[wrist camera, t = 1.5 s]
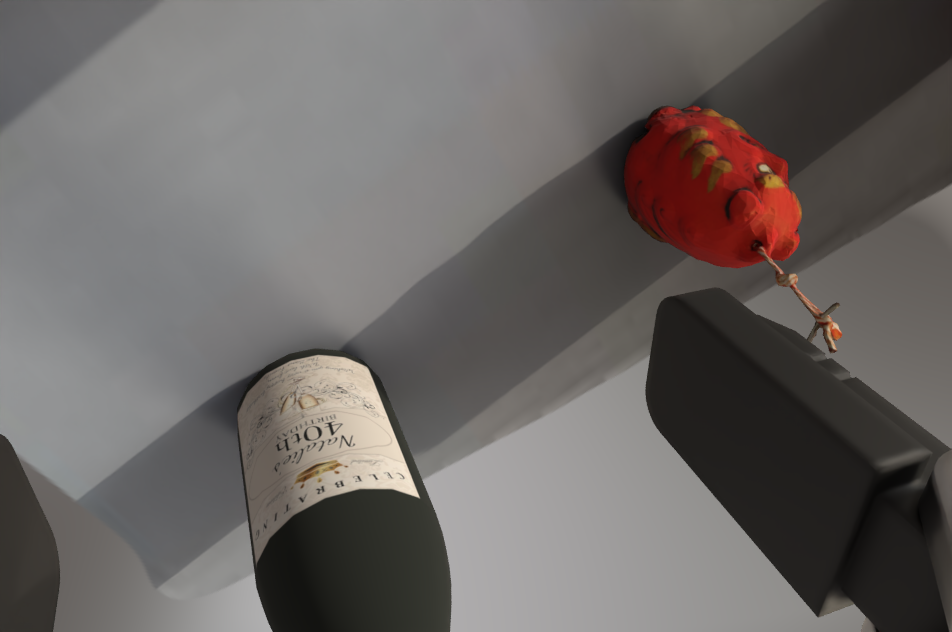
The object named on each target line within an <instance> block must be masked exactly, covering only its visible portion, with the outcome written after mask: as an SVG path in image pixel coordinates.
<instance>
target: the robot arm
mask: <svg viewBox="0 0 952 632" xmlns="http://www.w3.org/2000/svg"><path fill="white" fill-rule="evenodd" d="M646 402H647V406H648V410H649V413H650V416H651V418H652V420H653V422H654V424H655V426H656V427H657V429H658V430H659V431H660V433H661V434H662V435H663V436H664V437H665V438H666V440H667V441H668V442H669V443H670V444H671V446H672V447H673V448H674V449H675V450H676V451H677V453H678V454H679V455H680V456H681V457H682V459H683V460H684V461H685V462H686V463H687V464H688V466H689V467H690V468H691V469H692V470H693V471H694V473H695V474H696V475H697V476H698V477H699V478H700V480H701V481H702V482H703V483H704V484H705V486H706V487H707V488H708V489H709V490H710V491H711V493H713V495H714V496H715V497H716V498H717V500H718V501H719V502H720V503H721V504H722V505H723V507H724V508H725V509H726V510H727V511H728V512H729V514H730V515H731V516H732V517H733V518H734V520H735V521H736V522H737V523H738V524H739V525H740V526H741V528H742V529H743V530H744V531H745V532H746V534H747V535H748V536H749V537H750V538H751V539H752V541H753V542H754V543H755V544H756V545H757V546H758V548H759V549H760V550H761V551H762V552H763V553H764V555H765V556H766V557H767V558H768V559H769V561H770V562H771V563H772V564H773V565H774V566H775V568H776V569H777V570H778V571H779V572H780V573H781V575H782V576H783V577H784V578H785V579H786V580H787V582H788V583H789V584H790V585H791V586H792V588H793V589H794V590H795V591H796V592H797V593H798V595H799V596H800V597H801V598H802V599H803V600H804V602H806V604H807V605H808V606H809V607H810V609H811V610H812V611H813V612H814V613H815V614H816V616H817V617H821V616H824V615H826V614H829V613H832V612H834V611H837V610H840V609H842V608H845V607H847V606H850V605H853V604H855V605H856V606H857V607H858V608H859V609H860V610H861V612H862V613H863V614H864V615H865V616H866V618H865V621H864V623H863V625H862V629H861V632H952V449H950V448H949V447H948V446H946V445H945V444H944V443H942V442H941V441H940V440H938V439H937V438H936V437H934V436H933V435H932V434H930V433H929V432H928V431H926V430H925V429H924V428H922V427H921V426H920V425H918V424H917V423H916V422H915V421H913V420H912V419H910V418H909V417H908V416H907V415H905V414H904V413H903V412H901V411H900V410H899V409H897V408H896V407H895V406H894V405H892V404H891V403H889V402H888V401H887V400H886V399H884V398H883V397H881V396H880V395H879V394H878V393H876V392H875V391H874V390H872V389H871V388H870V387H869V386H867V385H866V384H864V383H863V382H862V381H861V380H859V379H858V378H856V377H855V378H851V377H850V372H849V371H847V370H846V369H845V368H843V367H842V366H841V365H839V364H838V363H837V362H836V361H834V360H833V359H826V357H825V353H824V352H822V351H821V350H820V349H818V348H817V347H816V346H814V345H813V344H812V343H811V342H809V341H808V340H807V339H805V338H804V337H803V336H801V335H800V334H799V333H797V332H796V331H794V330H792V329H789V328H787V327H785V326H783V325H780V324H778V323H775V322H773V321H771V320H769V319H766V318H764V317H762V316H760V315H756V314H755V313H753V312H752V311H751V310H749V309H748V308H747V307H746V306H744V305H743V304H742V303H740V302H739V301H738V300H737V299H735V298H734V297H733V296H732V295H730V294H729V293H728V292H726V291H725V290H723V289H720V288H709V289H705V290H700V291H695V292H690V293H685V294H681V295H676V296H671V297H667V298H665V299H664V300H663V301H662V302H661V303H660V305H659V307H658V310H657V314H656V320H655V327H654V334H653V341H652V347H651V354H650V361H649V368H648V374H647V381H646ZM59 584H60V568H59V557H58V551H57V546H56V542H55V538H54V536H53V532H52V530H51V528H50V525H49V523H48V521H47V519H46V517H45V515H44V513H43V510H42V508H41V506H40V504H39V502H38V500H37V498H36V496H35V493H34V491H33V489H32V487H31V485H30V483H29V481H28V478H27V476H26V475H25V472H24V470H23V468H22V466H21V463H20V461H19V459H18V457H17V455H16V453H15V451H14V449H13V447H12V445H11V443H10V442H9V440H8V439H7V438H6V437H5V436H3V435H1V434H0V632H53V627H54V620H55V613H56V607H57V599H58V592H59Z"/></svg>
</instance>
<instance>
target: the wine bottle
mask: <svg viewBox="0 0 952 632" xmlns="http://www.w3.org/2000/svg"><path fill="white" fill-rule="evenodd" d="M237 416H238V442H239V451H240V459H241V467H242V475H243V483H244V491H245V499H246V507H247V515H248V523H249V531H250V539H251V547H252V555H253V563H254V571H255V579H256V587H257V590H258V594H259V597H260V600H261V603H262V606H263V609H264V612H265V615H266V617H267V620H268V623H269V625H270V627H271V629H272V631H273V632H450V622H451V621H450V619H451V578H450V568H449V562H448V557H447V551H446V546H445V542H444V538H443V534H442V530H441V527H440V524H439V521H438V518H437V516H436V513H435V510H434V508H433V505H432V503H431V500H430V498H429V496H428V493H427V491H426V488H425V486H424V483H423V481H422V479H421V476H420V474H419V471H418V469H417V466H416V464H415V462H414V459H413V457H412V454H411V452H410V450H409V447H408V445H407V442H406V440H405V437H404V435H403V433H402V430H401V428H400V425H399V423H398V420H397V418H396V416H395V413H394V411H393V408H392V406H391V403H390V401H389V399H388V396H387V394H386V391H385V389H384V387H383V385H382V382H381V380H380V379H379V377H378V376H377V375H376V374H375V373H374V372H373V371H372V369H371V368H370V367H369V366H368V365H367V364H366V363H365V362H364V361H363V360H360V359H358V358H356V357H353V356H351V355H349V354H347V353H344V352H342V351H336V350H325V349H311V350H306V351H301V352H296V353H292V354H289V355H287V356H285V357H283V358H281V359H279V360H277V361H275V362H273V363H271V364H269V365H267V366H266V367H265V368H264V369H263V370H262V371H261V372H260V373H259V374H258V375H257V376H256V377H255V378H254V379H253V380H252V381H251V382H250V383H249V384H248V386H247V388H246V390H245V392H244V395H243V397H242V399H241V401H240V403H239V406H238V408H237Z"/></svg>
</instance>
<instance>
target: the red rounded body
mask: <svg viewBox="0 0 952 632" xmlns="http://www.w3.org/2000/svg"><path fill="white" fill-rule="evenodd" d="M645 127H646V129H647V131H646V133H645V134H643V135H641V136H640V137H637V138H636V139H635V140H634V141H633V143H632V145H631V147H630V149H629V152H628V155H627V158H626V162H625V167H624V181H625V189H626V194H627V197H628V212H629V214H630V216H631V218H632V219H633V220H634V221H635V222H637V223H638V224H639V226H640V227H641V228H642V229H643V230H644V231H645V232H646V233H647V234H649V235H650V236H651V237H652V238H654V239H656V240H658V241H660V242H665V243H670V244H671V245H673V246H674V247H676V248H678V249H680V250H682V251H684V252H686V253H687V254H689V255H690V256H692V257H694V258H696V259H698V260H702V261H706V262H708V263H711V264H713V265H716V266H720V267H731V268H741V267H745V266H750V265H753V264H756V263H759V262H762V261H765V260H766V261H767V262H768V263H769V264H770V265H771V267H772V268H773V269H774V270H775V271H776V282H777V284H778V285H779V286H785V287H788V286H789V287H791V289H792V290H793V291H794V292H795V293H796V295H797V296H798V297H799V299H800V300H801V301H802V303H803V304H804V305H805V306H806V308H807V309H808V310H809V311H810V312H811V314H812V315H813V316H814V318H815V319H816V323H815V326H814V328H813V329H812V331H811V333H810V335H809V337H808V338H807V340H808V341H809V342H812V340H813V338H814V337H815V336H816V333H817V330H818V329H819V327H820V328H823V336H824V339H825V341H826V343H827V345H828V348H829V351H830V353H835V352H836V351H837V349H836V347H835V344H834V342H833V340H836V341H837V339H839V338H841V336H842V333H841V331H840V330H839V328H838V324H836V323H834V322H833V321H832V319H831V317H830V316H829V314H830V313H831V312H832V311H834V310H835V309H836V308H837V307H839V306H840V304H839V303H835V304H833V305H832V306H831V307H830V308H829V309H828V310H826V311H825V312H824V313H823V312H820V310H819V309H818V308H817V307H816V306H814V305H813V304H812V303H811V302H810V301H809V300H808V299H807V298H806V297H805V296H804V295H803V294H802V293H801V292H800V291H799V290H798V289H797V287H796V283H797V281H798V277H797V275H796V274H784V273H783V272H782V270H781V269H780V268H779V267H778V266H777V265H776V264H775V263H774V262H773V260H780V261H783V260H785V259H787V258H789V257H790V255H791V254H792V253H793V252H794V251H795V250H796V248H797V247H798V244H799V241H800V238H799V234H798V233H797V231H798V229H797V227H798V225H799V223H800V221H801V218H802V210H801V206H800V203H799V201H798V199H797V197H796V195H795V193H794V192H793V191H791V190H790V189H789V188H788V187H789V181H788V175H787V174H788V164H787V161H785V160H784V159H782V158H780V157H778V156H777V155H775V154H772V153H770V152H769V151H768V150H767V149H766V148H765V147H764V146H763V145H762V144H761V143H759V142H758V141H757V140H755V139H754V138H752V137H750V135H749V134H748V133H747V132H746V131H745V130H744V129H743V127H741V126H740V125H739V124H737V123H736V122H734V121H733V120H731V119H729V118H727V117H723V116H722V115H720V114H719V113H717V112H715V111H714V110H712V109H700V108H699V107H697V106H693V105H692V106H690V107H688V108H685V109H681V110H680V109H676V108H674V107H670V106H662V107H660V108H658V109H656V110H654V111H653V112H652V113H651V114H650V116H649V117H648V121H647V124H646V125H645Z"/></svg>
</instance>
